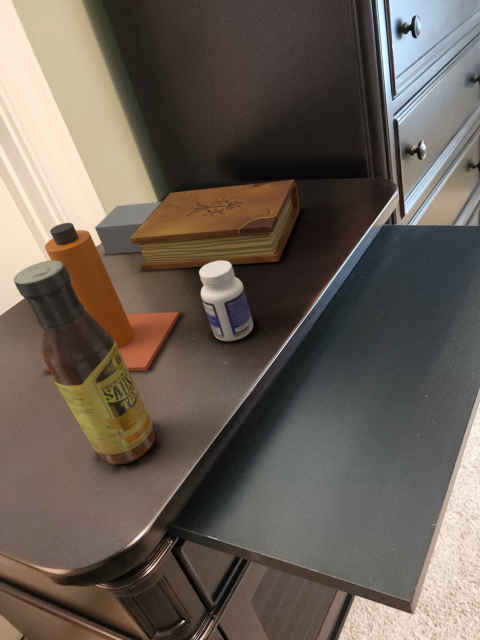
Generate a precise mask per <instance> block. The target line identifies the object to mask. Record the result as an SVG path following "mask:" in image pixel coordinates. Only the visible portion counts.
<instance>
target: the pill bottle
mask: <svg viewBox="0 0 480 640" xmlns="http://www.w3.org/2000/svg"><path fill="white" fill-rule="evenodd" d="M198 274H199V278H200V281H201V283H202V285H203V286H202V287H201V289H200V297H201V301H202V304H203V307H204V310H205V313H206V316H207V319H208V322H209V325H210V328H211V331H212V333H213V336H214V337H215V338H216V339H217V340H219V341H222V342H234V341H235V342H236V341H239V340H241V339H243V338H245V337H247V336H248V335H249V334H250V333H251V332H252V330H253V328H254V321H253V317H252V314H251V313H252V312H251V310H250V305H249V302H248V298H247V295H246V291H245V288H244V284H243V282H242V281H241V280H240V279H239V278H238V277H236V275H235V271H234V268H233V264H232V265H231V263H230V262H228V261H214V262H211V263H208V264H206V265H205V266H203V267H200V269H199V271H198Z"/></svg>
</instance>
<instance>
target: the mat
mask: <svg viewBox="0 0 480 640" xmlns="http://www.w3.org/2000/svg"><path fill="white" fill-rule="evenodd" d="M126 316H127V318H128V320H129V322H130V325H131V327H132V329H133V331H134V336H133V338H132V339H131V340H130V342H128V343H127V344H126V345H124V346H122V347H120V348H119V351H120V353H121V355H122V357H123V360H124V362H125V364H126V366H127V368H128V370H129V372H147V371H148V370H149V368H150V366H151V365H152V363H153V361H154V360H155V358H156V356H157V355H158V353H159V351H160V350H161V348H162V346H163V344H164V343H165V341H166V339H167V338H168V337H169V335H170V332H171V331H172V329H173V328H174V326H175V324H176V323H177V321H178V320H179V318H180V312H179V311H172V312H150V313H149V312H148V313H147V312H146V313H127V314H126ZM45 369H46V371H47V372H48V373H51V372H50V370H49V368H48V367H47V366H46V368H45Z"/></svg>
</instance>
